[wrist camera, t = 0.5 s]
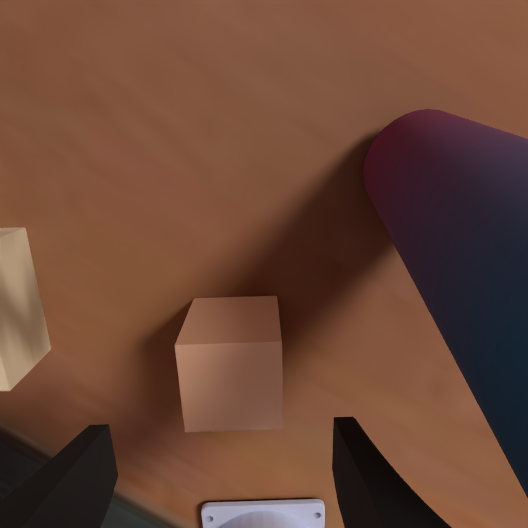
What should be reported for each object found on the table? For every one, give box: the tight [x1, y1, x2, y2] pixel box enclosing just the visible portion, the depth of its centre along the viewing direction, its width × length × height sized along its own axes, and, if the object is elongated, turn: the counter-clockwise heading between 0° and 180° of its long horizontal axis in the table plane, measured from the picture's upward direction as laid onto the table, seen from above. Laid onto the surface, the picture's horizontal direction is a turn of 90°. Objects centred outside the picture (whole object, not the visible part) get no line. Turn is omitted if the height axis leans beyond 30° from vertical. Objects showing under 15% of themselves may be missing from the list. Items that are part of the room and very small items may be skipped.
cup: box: [363, 109, 528, 498], centre depth 12 cm, size 7×7×15 cm
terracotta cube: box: [175, 296, 284, 432], centre depth 19 cm, size 4×4×5 cm
